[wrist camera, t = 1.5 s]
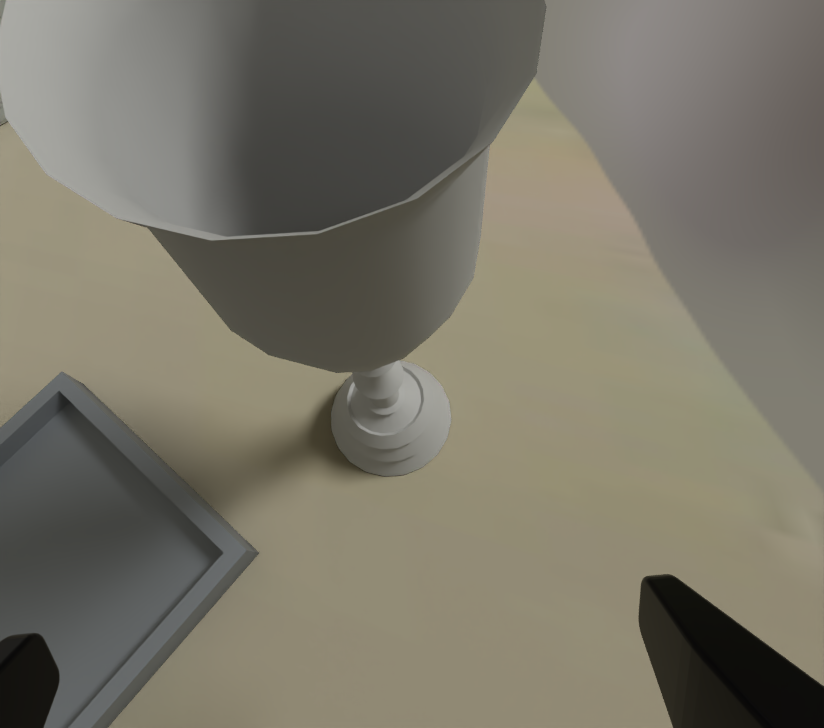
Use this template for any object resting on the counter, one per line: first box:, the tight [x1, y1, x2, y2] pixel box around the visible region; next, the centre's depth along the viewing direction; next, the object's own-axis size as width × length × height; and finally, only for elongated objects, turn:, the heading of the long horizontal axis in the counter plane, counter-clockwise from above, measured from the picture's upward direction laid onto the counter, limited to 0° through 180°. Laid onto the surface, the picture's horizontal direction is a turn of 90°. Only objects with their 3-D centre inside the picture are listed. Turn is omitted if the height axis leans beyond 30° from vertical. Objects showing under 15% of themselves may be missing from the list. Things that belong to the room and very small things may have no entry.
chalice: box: [0, 0, 546, 476], centre depth 15 cm, size 7×7×18 cm
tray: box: [0, 372, 259, 728], centre depth 21 cm, size 11×11×2 cm
